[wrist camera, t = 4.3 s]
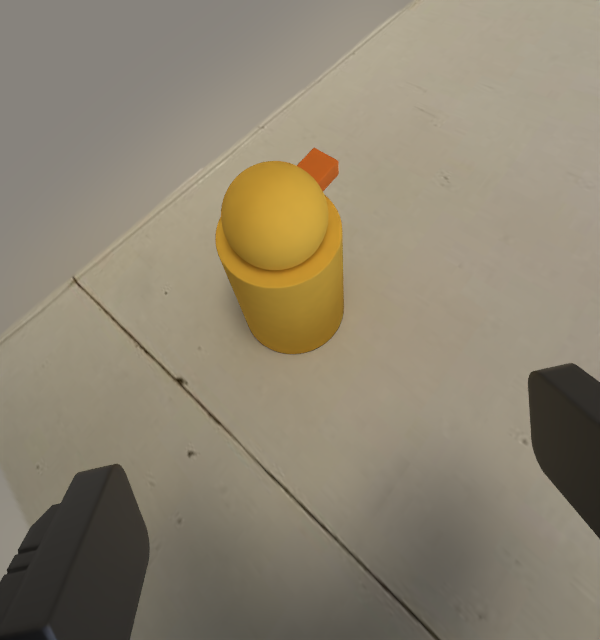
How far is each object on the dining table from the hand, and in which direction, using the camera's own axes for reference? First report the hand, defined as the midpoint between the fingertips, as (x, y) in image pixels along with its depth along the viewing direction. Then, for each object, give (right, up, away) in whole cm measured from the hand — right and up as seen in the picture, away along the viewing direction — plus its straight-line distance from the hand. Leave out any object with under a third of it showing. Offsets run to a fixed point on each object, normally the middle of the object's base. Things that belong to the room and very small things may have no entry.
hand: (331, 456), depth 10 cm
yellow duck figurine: (-1, +3, +17) cm, 17 cm away
